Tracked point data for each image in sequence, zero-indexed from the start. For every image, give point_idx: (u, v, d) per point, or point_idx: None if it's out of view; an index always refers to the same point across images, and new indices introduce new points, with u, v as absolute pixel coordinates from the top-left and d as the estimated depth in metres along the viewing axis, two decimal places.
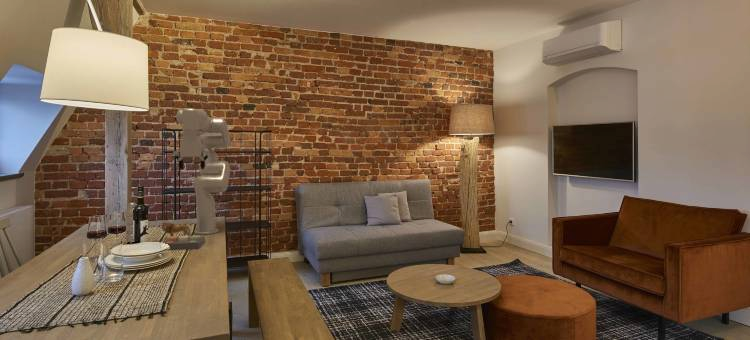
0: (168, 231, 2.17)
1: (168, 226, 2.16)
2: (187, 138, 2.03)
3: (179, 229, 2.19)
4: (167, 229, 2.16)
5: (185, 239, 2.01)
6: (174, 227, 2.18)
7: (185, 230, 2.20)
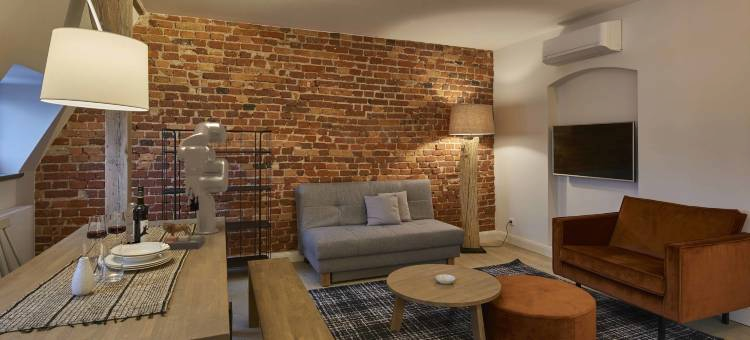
0: (169, 231, 2.17)
1: (169, 226, 2.16)
2: (198, 177, 2.01)
3: (180, 229, 2.19)
4: (168, 229, 2.16)
5: (185, 239, 2.01)
6: (175, 227, 2.18)
7: (186, 230, 2.20)
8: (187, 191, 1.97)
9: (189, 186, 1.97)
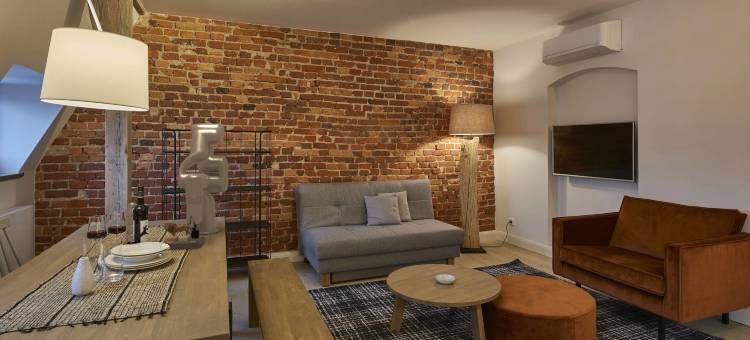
0: (170, 231, 2.17)
1: (170, 226, 2.17)
2: (199, 205, 2.02)
3: (181, 229, 2.19)
4: (169, 229, 2.17)
5: (185, 239, 2.01)
6: (176, 227, 2.19)
7: (187, 230, 2.20)
8: (188, 220, 1.97)
9: (190, 215, 1.97)
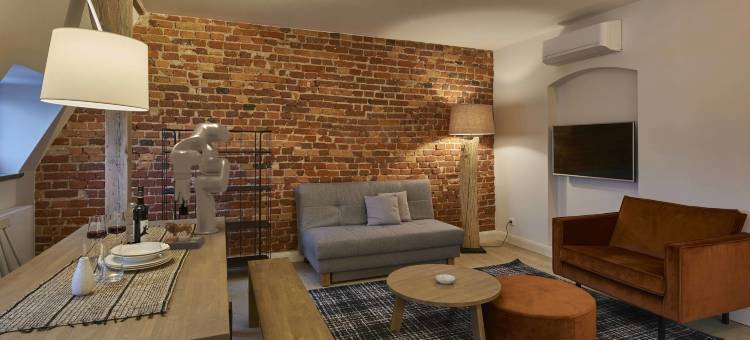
0: (171, 231, 2.17)
1: (171, 226, 2.17)
2: (187, 181, 2.00)
3: (182, 229, 2.20)
4: (170, 229, 2.17)
5: (185, 239, 2.01)
6: (177, 227, 2.19)
7: (188, 230, 2.20)
8: (176, 195, 1.96)
9: (178, 190, 1.96)
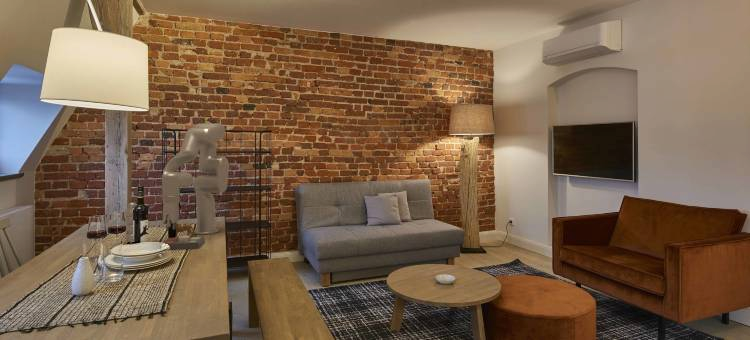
0: None
1: None
2: (176, 204, 2.00)
3: (183, 229, 2.20)
4: None
5: (185, 239, 2.01)
6: (178, 227, 2.19)
7: (189, 230, 2.20)
8: (164, 218, 1.96)
9: (166, 213, 1.96)
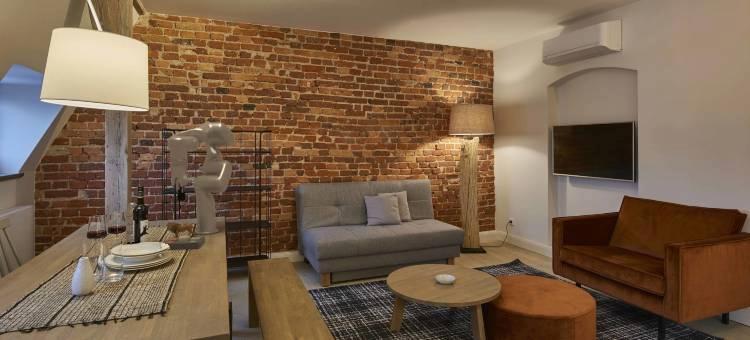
0: (173, 231, 2.17)
1: (173, 226, 2.17)
2: (184, 167, 2.03)
3: (184, 229, 2.20)
4: (172, 229, 2.17)
5: (185, 239, 2.01)
6: (179, 227, 2.19)
7: (190, 230, 2.21)
8: (173, 182, 1.99)
9: (175, 177, 1.99)
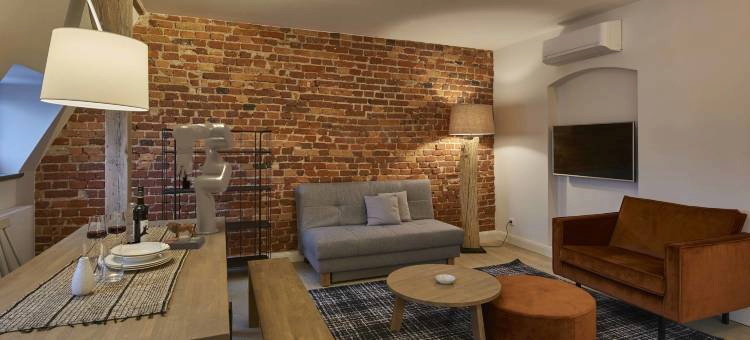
0: (174, 231, 2.17)
1: (174, 226, 2.17)
2: (190, 155, 2.05)
3: (185, 229, 2.20)
4: (173, 229, 2.17)
5: (185, 239, 2.01)
6: (180, 227, 2.19)
7: (191, 230, 2.21)
8: (179, 169, 2.01)
9: (181, 164, 2.01)
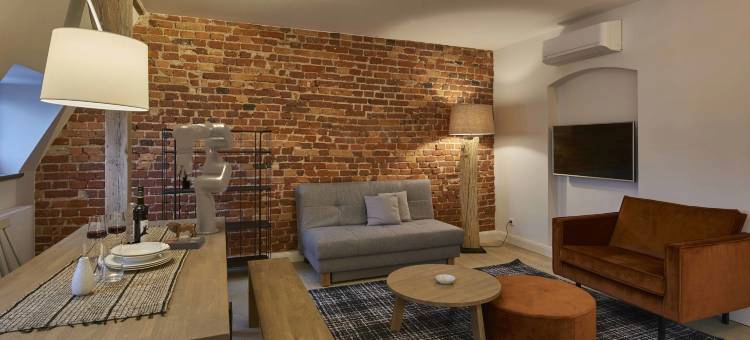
0: (174, 231, 2.18)
1: (174, 226, 2.17)
2: (190, 155, 2.05)
3: (185, 229, 2.20)
4: (173, 229, 2.17)
5: (185, 239, 2.01)
6: (180, 227, 2.19)
7: (191, 230, 2.21)
8: (179, 169, 2.01)
9: (181, 164, 2.01)
